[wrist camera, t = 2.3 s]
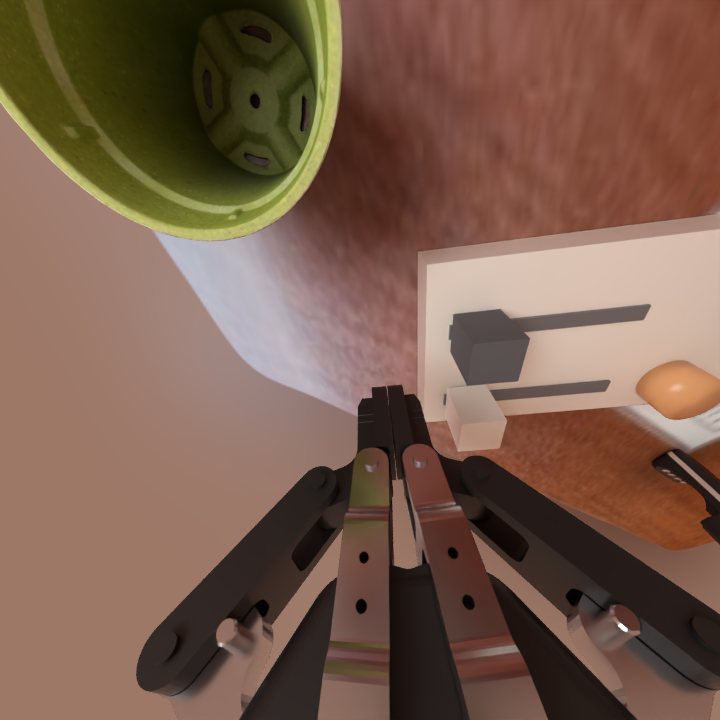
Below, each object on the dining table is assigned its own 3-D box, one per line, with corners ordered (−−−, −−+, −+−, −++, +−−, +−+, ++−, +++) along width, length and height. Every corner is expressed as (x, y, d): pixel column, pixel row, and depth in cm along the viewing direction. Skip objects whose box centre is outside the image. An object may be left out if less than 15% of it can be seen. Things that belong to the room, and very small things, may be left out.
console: (417, 251, 18) (435, 276, 13) (902, 190, 16) (1095, 197, 12) (417, 397, 25) (428, 442, 21) (746, 368, 23) (830, 411, 19)
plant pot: (339, 225, 17) (323, 264, 10) (179, 194, 16) (31, 212, 9) (367, -16, 11) (379, -324, 4) (129, -84, 10) (-356, -623, 3)
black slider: (453, 314, 17) (473, 344, 14) (500, 309, 16) (530, 338, 13) (450, 351, 18) (467, 385, 15) (492, 347, 18) (518, 381, 15)
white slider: (447, 387, 20) (461, 424, 17) (486, 384, 20) (507, 420, 17) (444, 414, 22) (457, 451, 19) (480, 411, 21) (499, 448, 18)
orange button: (649, 362, 19) (680, 383, 17) (705, 357, 19) (742, 377, 17) (627, 400, 21) (652, 421, 19) (676, 396, 21) (706, 417, 19)
